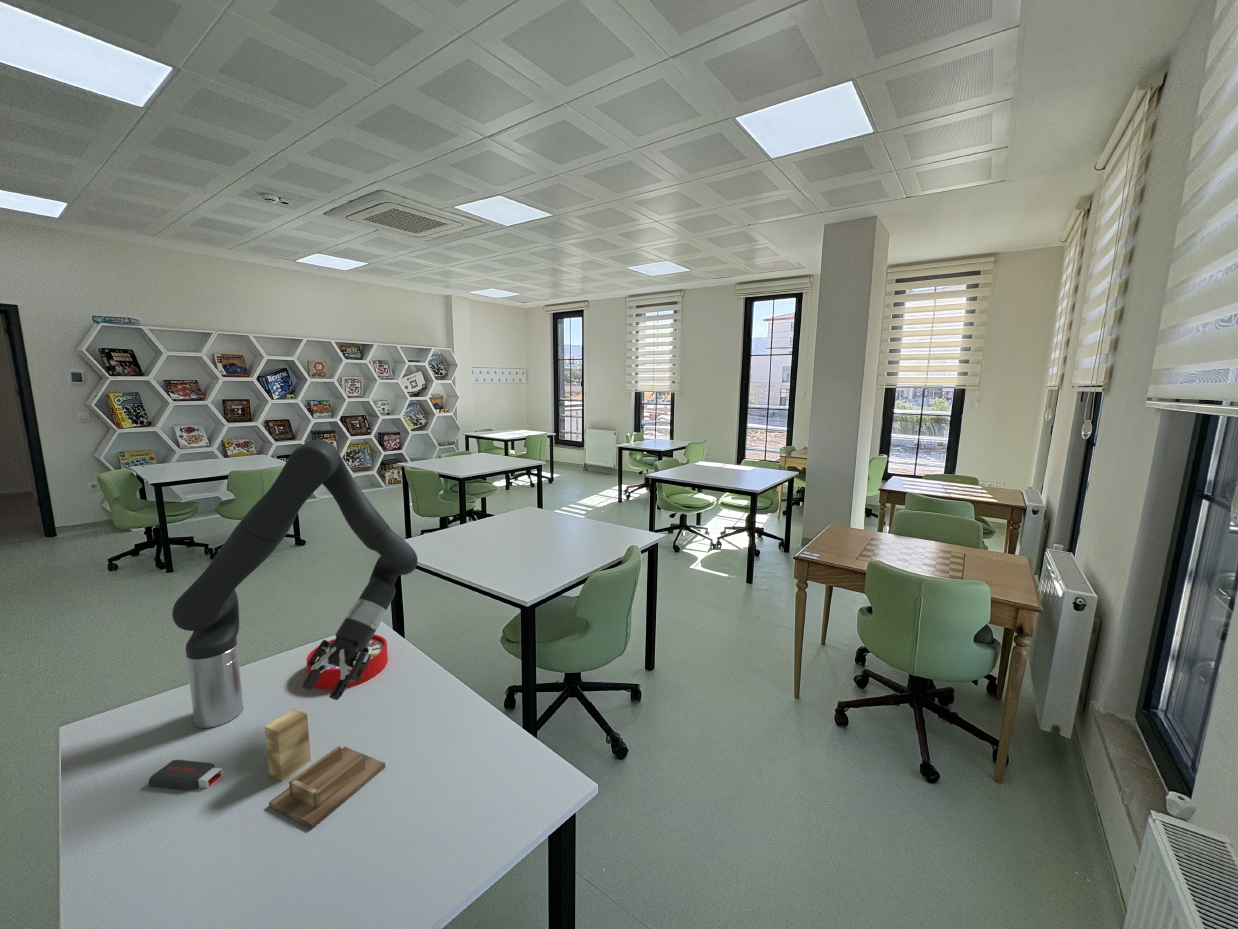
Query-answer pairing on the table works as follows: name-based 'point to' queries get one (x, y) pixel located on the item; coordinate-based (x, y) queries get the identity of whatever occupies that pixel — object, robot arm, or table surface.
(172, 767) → the usb drive
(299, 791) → the groove board
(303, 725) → the oak plank
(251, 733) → the table surface
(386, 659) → the toy clock
